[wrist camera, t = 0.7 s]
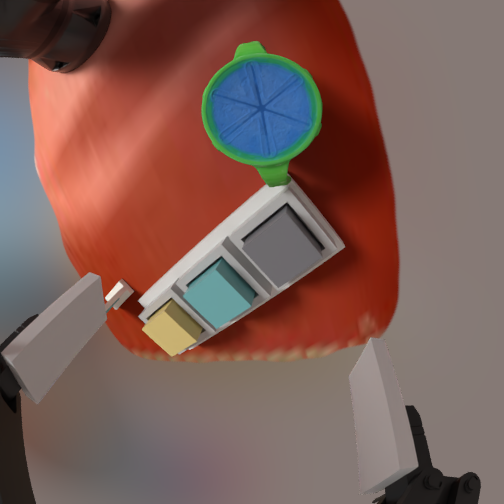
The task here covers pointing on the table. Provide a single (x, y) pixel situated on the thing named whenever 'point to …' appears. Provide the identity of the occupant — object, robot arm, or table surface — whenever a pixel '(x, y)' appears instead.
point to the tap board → (240, 254)
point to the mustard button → (172, 328)
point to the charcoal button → (282, 246)
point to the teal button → (220, 293)
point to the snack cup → (262, 111)
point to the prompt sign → (118, 295)
